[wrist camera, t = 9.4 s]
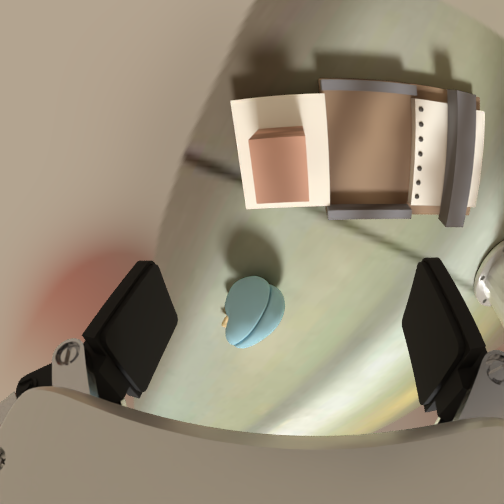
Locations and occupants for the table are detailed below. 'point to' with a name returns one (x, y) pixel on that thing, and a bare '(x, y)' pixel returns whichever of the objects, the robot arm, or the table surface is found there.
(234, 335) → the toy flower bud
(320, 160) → the block on cream tray
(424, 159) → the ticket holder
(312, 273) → the table surface
